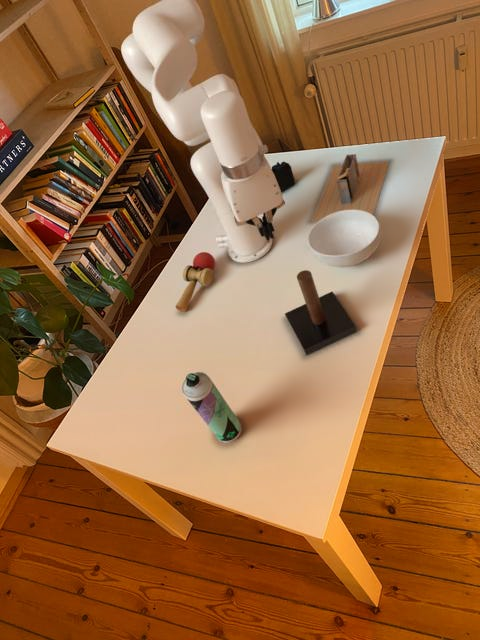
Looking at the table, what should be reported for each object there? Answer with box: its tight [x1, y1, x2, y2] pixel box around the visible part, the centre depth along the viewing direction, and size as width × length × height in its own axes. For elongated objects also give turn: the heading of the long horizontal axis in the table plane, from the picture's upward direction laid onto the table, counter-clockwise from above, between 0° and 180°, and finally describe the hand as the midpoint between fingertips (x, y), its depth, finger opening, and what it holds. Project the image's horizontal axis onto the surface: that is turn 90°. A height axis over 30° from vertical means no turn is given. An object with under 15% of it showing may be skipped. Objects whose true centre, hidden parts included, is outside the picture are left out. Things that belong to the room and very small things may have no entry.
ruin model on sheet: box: [311, 153, 391, 222], centre depth 132 cm, size 25×16×10 cm, turn 159°
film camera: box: [271, 161, 296, 194], centre depth 145 cm, size 15×10×9 cm, turn 114°
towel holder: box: [284, 269, 358, 356], centre depth 104 cm, size 18×12×12 cm
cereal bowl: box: [307, 210, 381, 268], centre depth 118 cm, size 17×17×7 cm
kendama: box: [175, 251, 216, 313], centre depth 129 cm, size 8×6×18 cm
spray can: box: [181, 371, 243, 444], centre depth 92 cm, size 6×6×20 cm
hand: (268, 235), depth 102 cm, fingers closed
